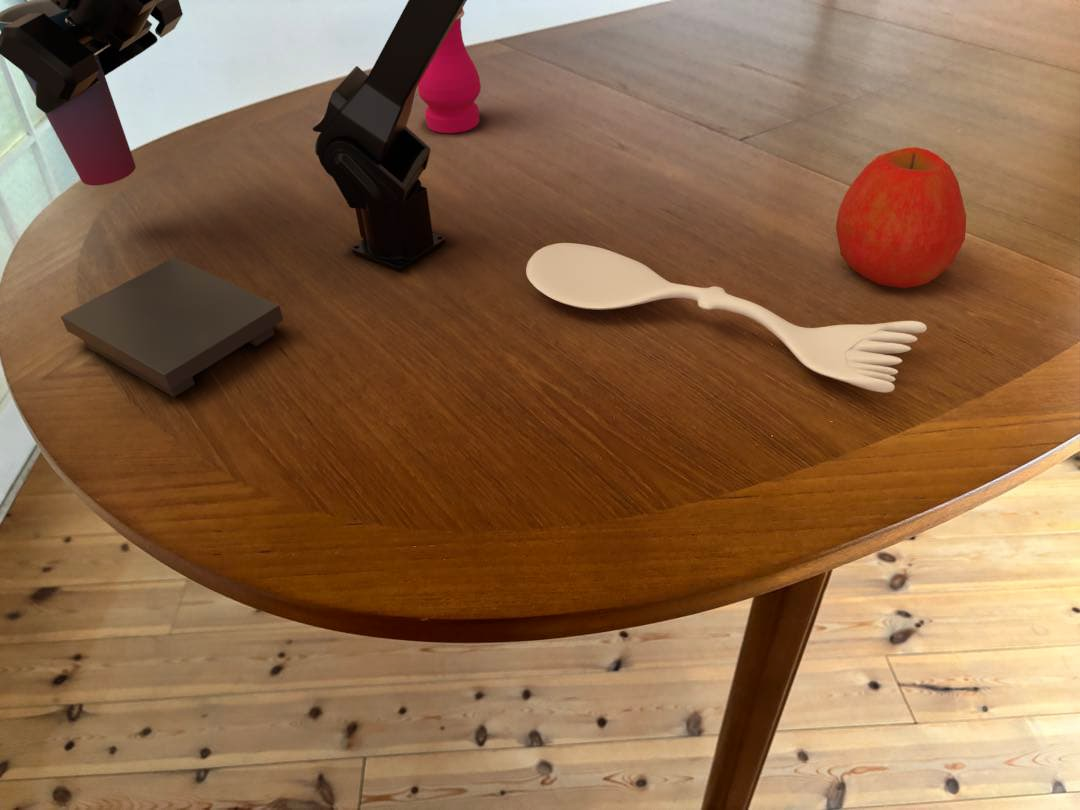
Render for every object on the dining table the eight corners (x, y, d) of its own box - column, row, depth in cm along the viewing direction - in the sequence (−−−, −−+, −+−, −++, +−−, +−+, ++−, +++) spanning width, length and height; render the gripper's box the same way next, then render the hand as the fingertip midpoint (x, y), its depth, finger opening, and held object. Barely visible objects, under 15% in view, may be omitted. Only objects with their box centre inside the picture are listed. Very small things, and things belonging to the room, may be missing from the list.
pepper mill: (492, 128, 107) (477, -60, 94) (432, 140, 105) (408, -50, 92) (472, 107, 112) (455, -74, 99) (415, 118, 110) (390, -65, 97)
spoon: (884, 422, 64) (894, 383, 62) (507, 300, 78) (505, 265, 76) (920, 355, 70) (930, 317, 68) (563, 253, 84) (561, 219, 82)
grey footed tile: (287, 335, 76) (279, 304, 74) (176, 406, 69) (164, 374, 67) (184, 286, 82) (174, 256, 81) (73, 346, 76) (60, 316, 74)
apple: (845, 228, 85) (865, 119, 78) (962, 250, 81) (994, 137, 74) (816, 282, 78) (836, 168, 72) (943, 309, 74) (976, 191, 68)
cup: (146, 178, 85) (77, 11, 75) (70, 197, 83) (-10, 28, 74) (144, 150, 90) (79, -10, 80) (72, 167, 88) (-3, 6, 79)
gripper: (105, -141, 77) (41, -2, 86) (-39, -91, 63) (-97, 68, 72) (217, -42, 81) (145, 81, 90) (104, 26, 67) (32, 164, 76)
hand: (63, 95), depth 82 cm, fingers closed on cup, 6 cm apart
